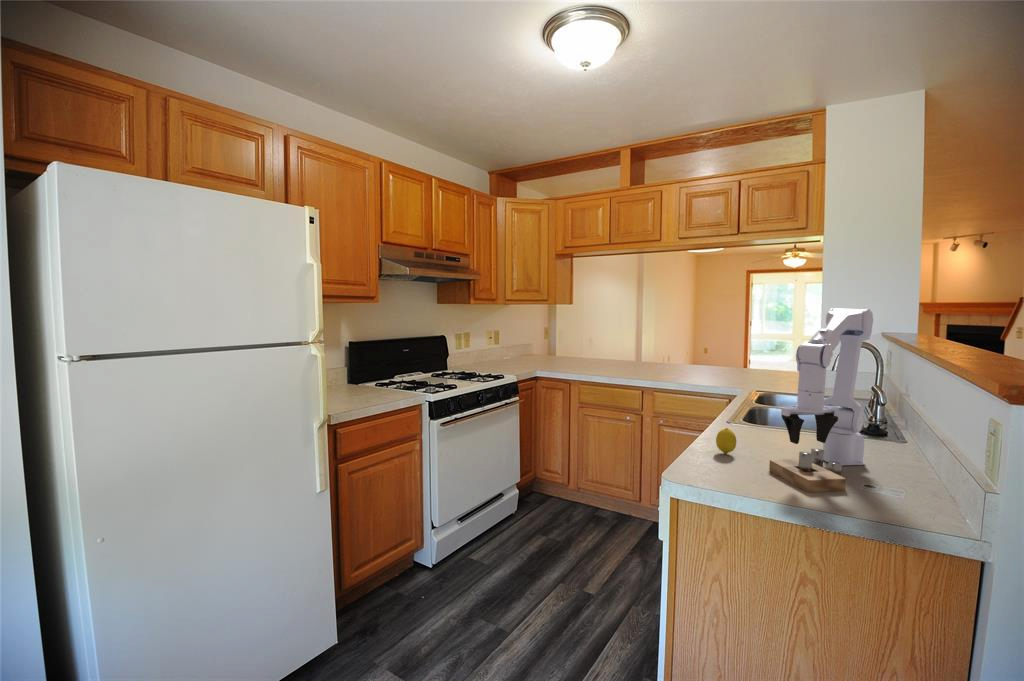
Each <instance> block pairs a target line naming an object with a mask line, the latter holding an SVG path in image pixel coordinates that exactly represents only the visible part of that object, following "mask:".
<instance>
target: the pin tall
mask: <svg viewBox="0 0 1024 681" xmlns="http://www.w3.org/2000/svg"><path fill="white" fill-rule="evenodd" d="M798 459H799V463H798V469H800V470H802V471H804V472H812V462H813V454H812V453H811V452H809V451H804V450H803V451H799V453H798Z"/></svg>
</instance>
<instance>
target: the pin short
mask: <svg viewBox="0 0 1024 681" xmlns="http://www.w3.org/2000/svg"><path fill="white" fill-rule="evenodd" d="M842 468H843V466H842V464H841V463H839V462H835V461H828V462H827V470H829V471H831V472H833V473H835V474H837V475H840V476H842Z"/></svg>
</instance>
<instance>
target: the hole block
mask: <svg viewBox="0 0 1024 681" xmlns="http://www.w3.org/2000/svg"><path fill="white" fill-rule="evenodd" d="M798 463H799V458H792V459H785V458H784V459H769V466H768V467H769V469H768V471H769V470H770V471H772V472H773V473H772V472H771V473H772V474H774V473H775V474H774V475H776V474H777V476H778V475H779V476H780V478H781V477H782V478H781V479H783V478H784V479H783V480H785V481H787V482H789V483H790V482H791V483H790V484H792V483H793V485H795V487H798V488H799V487H800V489H801V488H802V489H801V490H803V491H805V492H806V493H820V492H824V491H825V492H841V491H846V488H847V486H846V485H847V477H844V476H842V475H841V476H840V475H837V474H835V473H833V472H831V471H829V470H827V469H828V468H827V469H826V468H824V467H823V468H822V467H820V466H818V465H816V464H814V463H812V472H804V471H802V470H800V469H798ZM770 471H769V472H770ZM779 476H778V477H779Z"/></svg>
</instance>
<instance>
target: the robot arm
mask: <svg viewBox="0 0 1024 681" xmlns="http://www.w3.org/2000/svg"><path fill="white" fill-rule="evenodd" d="M825 324H826V325H825V327H824V328H820V329H819V330H818V331H816V333H815V334H813V336H812V337H811V338H810V339H809V341H808V342H804V343H802V344H799V345H798V346H797V349H796V352H795V361H796V364H797V366H796V368H797V370H796V371H797V372H798V381H797V382H798V384H797V397H796V398H797V399H796V400H797V402H796V404H795V405H788V406H781V410H780V412H781V413H780V415H781V418H782V420H783V422H784V425H785V426H786V429H787V433H788V437H789V442H790V443H792V444H795V445H798V444H799V442H800V437H801V436H800V435H801V429H802V426H803V424H804V422H805V419H803V418H800V416H813V415H814V418H815V423H816V424H815V426H816V441H817V442H819V443H821V444H822V450H824V460H823V462H826V463H828V461H835V462H839V463H841V464H842V467H843V466H862V465H863V466H864V465H866V462H864V451H865V439H864V437H863V434H862V433H860V432H861V431H862V430H863V426H864V419H865V418H864V407H863V406H862V405H861V403H860V402H858V401H857V400H856V399H855V398H854V393H855V388H856V382H857V375H858V374H857V373H858V370H859V362H860V355H861V350H862V345H863V342H865V341H868V340H870V339H871V336H872V331H873V326H874V325H873V324H874V315H873V312H872V310H871V309H870V308H865V309H864V308H861V309H860V308H834V307H831V308H830V309H829V310H828V311H827V313H826V316H825ZM839 344H840V347H839V353H838V354H839V355H838V360H837V366H836V373H835V379H834V386H833V391H832V392H833V393H832V395H831V396H829V397H827V398H825V391H826V379H827V378H826V377H827V376H826V375H827V368H828V367H829V366H830V364H831V362H832V361H831V360H832V358H833V353H834V350H836V348H837V347H838V346H839ZM841 407H842V408H841Z"/></svg>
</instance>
